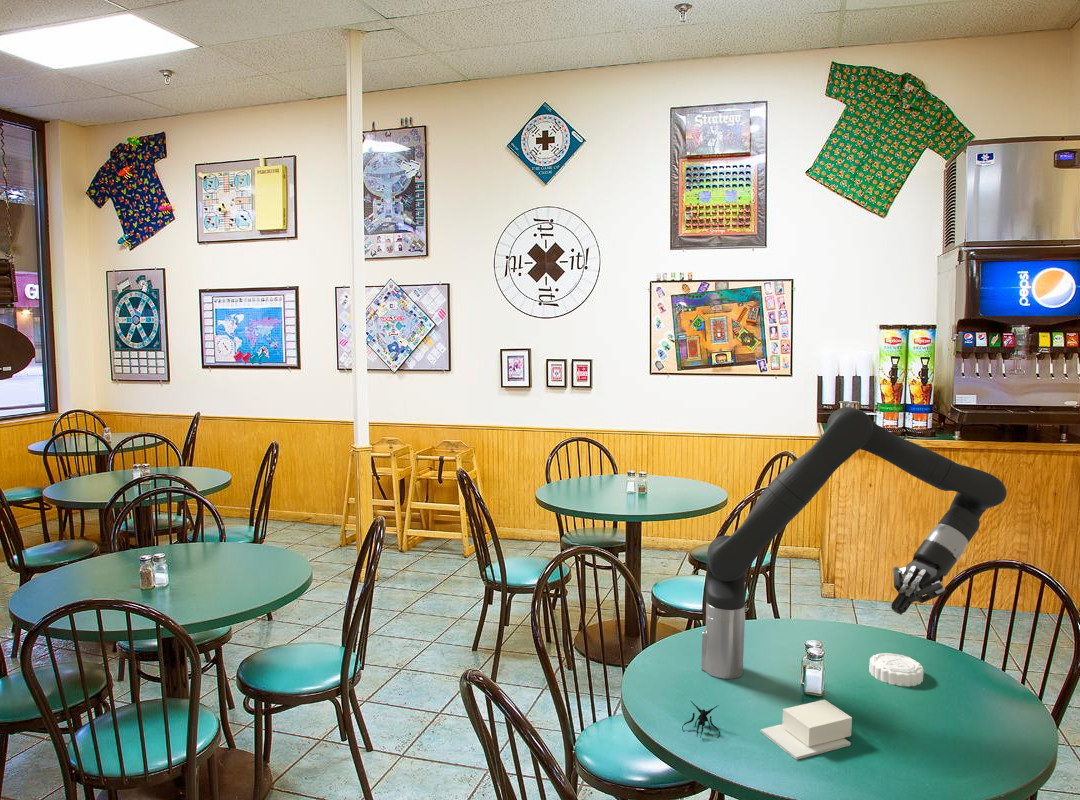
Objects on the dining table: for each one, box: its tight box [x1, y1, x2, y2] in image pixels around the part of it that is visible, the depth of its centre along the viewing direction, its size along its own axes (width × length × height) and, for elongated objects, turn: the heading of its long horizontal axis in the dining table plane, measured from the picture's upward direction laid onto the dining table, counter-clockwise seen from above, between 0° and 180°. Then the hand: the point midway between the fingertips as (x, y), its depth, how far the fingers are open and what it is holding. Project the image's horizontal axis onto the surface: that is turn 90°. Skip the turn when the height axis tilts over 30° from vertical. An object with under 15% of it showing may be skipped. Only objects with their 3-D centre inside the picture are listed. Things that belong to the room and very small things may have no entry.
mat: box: [760, 723, 851, 761], centre depth 160 cm, size 11×14×1 cm
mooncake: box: [868, 652, 924, 687], centre depth 189 cm, size 12×12×4 cm
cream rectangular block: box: [781, 699, 853, 747], centre depth 161 cm, size 8×4×11 cm
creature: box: [681, 700, 721, 739], centre depth 163 cm, size 8×5×8 cm
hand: (896, 611), depth 166 cm, fingers closed
